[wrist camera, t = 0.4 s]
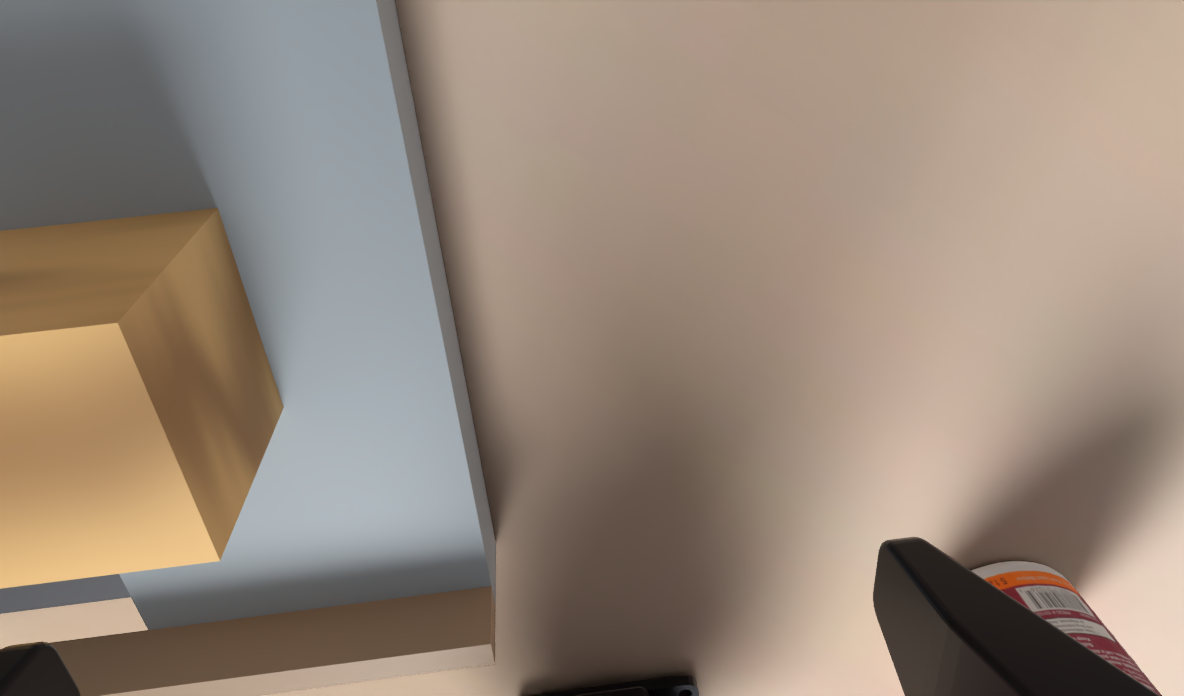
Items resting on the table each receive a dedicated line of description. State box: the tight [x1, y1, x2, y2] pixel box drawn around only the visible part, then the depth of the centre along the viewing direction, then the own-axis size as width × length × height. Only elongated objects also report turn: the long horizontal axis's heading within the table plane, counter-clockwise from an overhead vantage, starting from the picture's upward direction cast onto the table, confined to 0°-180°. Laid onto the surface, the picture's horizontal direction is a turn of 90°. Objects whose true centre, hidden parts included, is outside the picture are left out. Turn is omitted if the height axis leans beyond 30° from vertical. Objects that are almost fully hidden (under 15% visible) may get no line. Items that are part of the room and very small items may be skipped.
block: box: [0, 208, 284, 589], centre depth 15 cm, size 5×5×5 cm
